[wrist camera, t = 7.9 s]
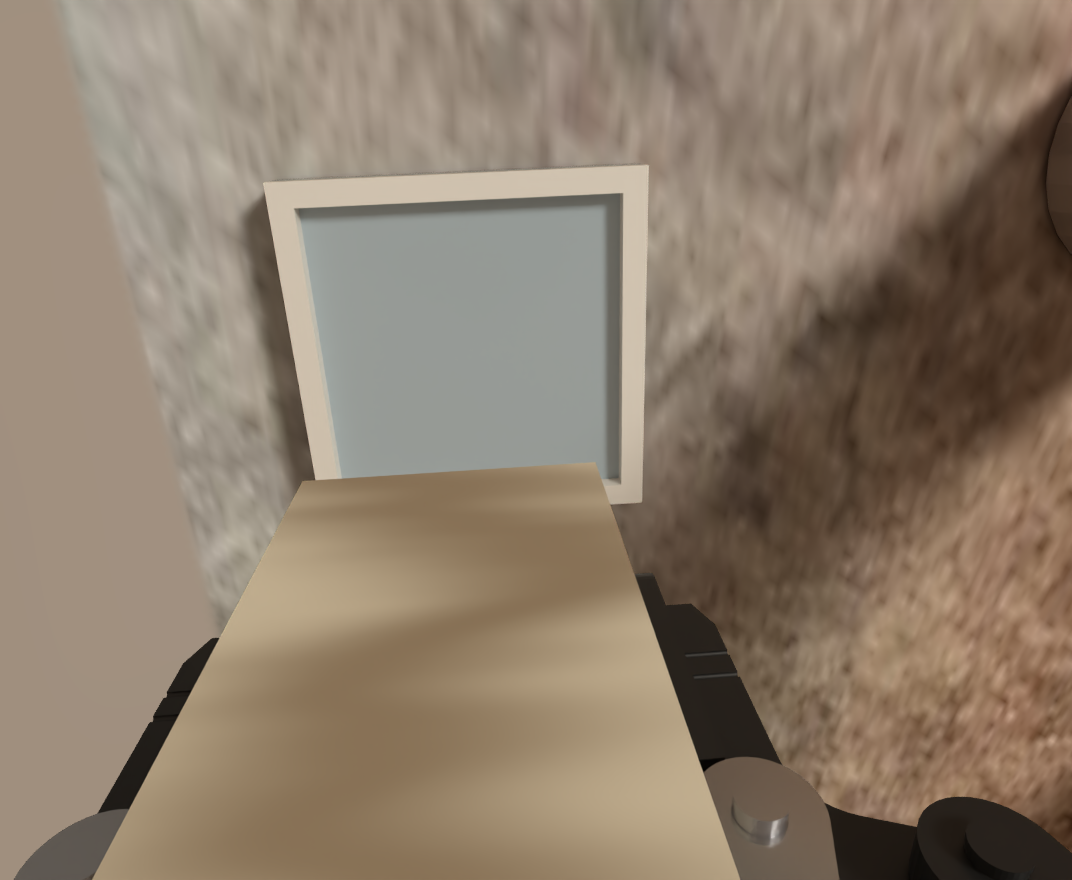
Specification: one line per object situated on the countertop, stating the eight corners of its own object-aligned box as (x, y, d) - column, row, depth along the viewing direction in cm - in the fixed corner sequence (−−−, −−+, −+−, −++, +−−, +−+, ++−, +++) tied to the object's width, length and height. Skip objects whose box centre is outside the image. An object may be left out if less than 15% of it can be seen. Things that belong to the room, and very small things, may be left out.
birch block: (595, 461, 11) (748, 901, 5) (597, 689, 13) (711, 1236, 6) (302, 481, 11) (45, 968, 5) (344, 709, 13) (202, 1295, 6)
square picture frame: (638, 163, 24) (648, 164, 23) (634, 483, 29) (642, 502, 27) (276, 179, 24) (263, 182, 22) (331, 503, 28) (323, 523, 27)
